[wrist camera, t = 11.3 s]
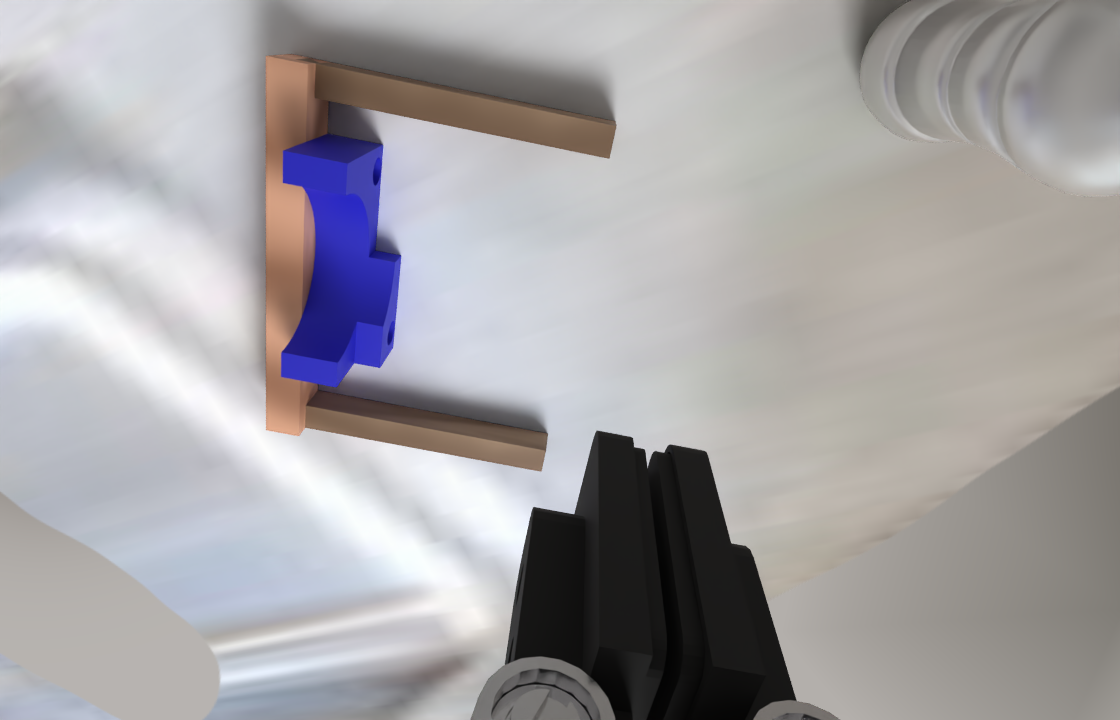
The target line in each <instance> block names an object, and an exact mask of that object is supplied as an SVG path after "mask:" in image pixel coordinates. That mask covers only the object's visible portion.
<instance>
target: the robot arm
mask: <svg viewBox="0 0 1120 720" xmlns="http://www.w3.org/2000/svg"><path fill="white" fill-rule="evenodd" d="M471 720H839V719H838V718H837V717H835V716H834V715H832V714H831V713H829V712H827V711H825V710H823V709H820V708H818V707H816V706H814V705H811V704H808V703H803V702H797V701H796V697H795V694H794V691H793V687H792V685H791V681H790V677H789V674H788V671H787V667H786V664H785V661H784V657H783V654H782V651H781V647H780V644H779V641H778V637H777V634H776V631H775V627H774V624H773V621H772V617H771V614H770V611H769V607H768V604H767V601H766V597H765V594H764V591H763V587H762V584H761V581H760V577H759V574H758V571H757V567H756V564H755V561H754V557H753V555H752V553H751V551H750V549H749V548H747V547H746V546H742V545H737V544H731V541H730V537H729V534H728V530H727V526H726V522H725V519H724V515H723V511H722V507H721V503H720V500H719V496H718V492H717V488H716V484H715V481H714V477H713V473H712V469H711V466H710V462H709V458H708V455H707V453H706V452H705V451H702V450H697V449H691V448H686V447H681V446H676V445H669V446H668V447H667V448H666V450H665V453H662V452H657V451H654V452H653V454H652V456H651V459H650V462H649V465H648V469H647V462H646V453H645V450H644V449H641V448H635V447H634V442H633V438H632V437H628V436H623V435H618V434H612V433H607V432H602V431H596V433H595V436H594V439H593V443H592V446H591V450H590V454H589V458H588V462H587V466H586V470H585V474H584V478H583V482H582V486H581V490H580V494H579V498H578V502H577V506H576V510H575V514H569V513H563V512H558V511H552V510H547V509H541V508H536V507H533V509H532V513H531V517H530V521H529V526H528V530H527V535H526V540H525V544H524V549H523V554H522V559H521V564H520V569H519V575H518V580H517V586H516V592H515V599H514V605H513V612H512V619H511V626H510V633H509V640H508V647H507V654H506V660H505V665H504V666H502V667H501V668H500V669H499V670H498V671H497V672H496V673H494V674H493V675H492V676H491V677H490V678H489V679H488V681H487V682H486V684H485V686H484V688H483V689H482V691H481V693H480V695H479V697H478V700H477V703H476V706H475V709H474V711H473V714H472V717H471Z"/></svg>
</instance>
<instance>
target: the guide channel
mask: <svg viewBox="0 0 1120 720" xmlns="http://www.w3.org/2000/svg"><path fill="white" fill-rule="evenodd" d="M329 101H331V102H336V103H341V104H346V105H351V106H356V107H361V108H365V109H370V110H375V111H380V112H385V113H390V114H395V115H399V116H404V117H409V118H414V119H419V120H424V121H429V122H433V123H438V124H443V125H448V126H453V127H458V128H463V129H468V130H472V131H477V132H482V133H487V134H492V135H497V136H502V137H506V138H511V139H516V140H521V141H526V142H531V143H536V144H540V145H545V146H550V147H555V148H560V149H565V150H570V151H574V152H579V153H584V154H589V155H594V156H599V157H604V158H608V159H609V158H610V153H611V148H612V144H613V139H614V135H615V130H616V122H615V121H611V120H606V119H601V118H597V117H592V116H587V115H582V114H577V113H573V112H568V111H563V110H558V109H553V108H549V107H544V106H539V105H534V104H529V103H525V102H520V101H515V100H510V99H505V98H500V97H496V96H491V95H486V94H481V93H476V92H472V91H467V90H462V89H457V88H452V87H448V86H443V85H438V84H433V83H428V82H424V81H419V80H414V79H409V78H404V77H400V76H395V75H390V74H385V73H380V72H376V71H371V70H366V69H361V68H356V67H352V66H347V65H342V64H337V63H332V62H327V61H323V60H318V59H313V58H308V57H303V56H299V55H294V54H284V55H270V56H266V430H269V431H274V432H279V433H285V434H290V435H296V436H299V435H300V434H301V432H302V431H303V430H304V428H310V429H316V430H321V431H326V432H332V433H337V434H343V435H348V436H353V437H359V438H364V439H369V440H375V441H380V442H385V443H391V444H396V445H402V446H407V447H412V448H418V449H423V450H428V451H434V452H439V453H444V454H450V455H455V456H461V457H466V458H471V459H477V460H482V461H487V462H493V463H498V464H503V465H509V466H514V467H520V468H525V469H530V470H536V471H542V466H543V462H544V457H545V452H546V445H547V437H548V434H547V433H542V432H536V431H531V430H526V429H521V428H515V427H510V426H505V425H499V424H494V423H489V422H483V421H478V420H473V419H468V418H462V417H457V416H452V415H446V414H441V413H436V412H430V411H425V410H420V409H415V408H409V407H404V406H399V405H393V404H388V403H383V402H378V401H372V400H367V399H362V398H356V397H351V396H346V395H340V394H335V393H330V392H325V391H319V390H318V384H316V383H310V382H305V381H300V380H294V379H289V378H284V377H281V352H282V351H283V350H284V349H285V347H286V346H287V345H288V343H289V342H290V340H291V338H292V337H293V335H294V333H295V331H296V329H297V327H298V325H299V323H300V320H301V318H302V315H303V312H304V309H305V306H306V303H307V299H308V295H309V291H310V287H311V282H312V277H313V270H314V261H315V245H316V235H315V222H314V215H313V210H312V206H311V203H310V200H309V197H308V195H307V193H306V192H305V190H304V189H303V187H300V186H295V185H290V184H285V183H283V150H286V149H289V148H291V147H294V146H296V145H299V144H302V143H304V142H307V141H310V140H312V139H315V138H318V137H320V136H323V135H325V134H327V132H328V106H329Z"/></svg>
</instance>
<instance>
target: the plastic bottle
mask: <svg viewBox="0 0 1120 720" xmlns="http://www.w3.org/2000/svg"><path fill="white" fill-rule="evenodd" d="M860 88H861V92H862V95H863V99H864V101H865V103H866V105H867V107H868V109H869V111H870V112H871V113H872V114H873V116H874V117H875V118H876V119H877V120H878V121H879V122H880V123H881V124H882V125H883V126H884V127H885V128H887V129H888V130H889V131H891V132H892V133H893V134H895V135H897V136H899V137H902V138H904V139H907V140H912V141H917V142H929V143H944V142H960V143H967V144H973V145H976V146H978V147H980V148H983V149H985V150H988V151H990V152H992V153H995V154H997V155H998V156H1000V157H1001V158H1003V159H1004V160H1006V161H1007V162H1009V163H1010V164H1012V165H1013V166H1015V167H1016V168H1018V169H1019V170H1021V171H1022V172H1024V173H1026V174H1027V175H1029V176H1030V177H1031V178H1033V179H1035V180H1037V181H1039V182H1041V183H1043V184H1045V185H1047V186H1049V187H1052V188H1054V189H1056V190H1059V191H1061V192H1063V193H1067V194H1072V195H1078V196H1083V197H1093V196H1115V195H1120V0H911V1H909V2H907V3H905V4H903V5H902V6H900V7H899V8H898V9H896V10H895V11H893V12H892V13H891V14H890V15H888V16H887V17H886V18H885V19H884V20H883V21H882V22H881V23H880V25H879V26H878V27H877V29H876V30H875V32H874V33H873V34H872V36H871V38H870V40H869V42H868V44H867V46H866V48H865V51H864V54H863V57H862V61H861V67H860Z"/></svg>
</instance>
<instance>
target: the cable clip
mask: <svg viewBox="0 0 1120 720" xmlns="http://www.w3.org/2000/svg"><path fill="white" fill-rule="evenodd" d="M382 155H383V145H382V144H377V143H372V142H367V141H362V140H357V139H352V138H347V137H342V136H338V135H333V134H325V135H323V136H320V137H318V138H315V139H312V140H310V141H307V142H304V143H302V144H299V145H296V146H294V147H291V148H289V149H286V150H283V183H285V184H290V185H295V186H300V187H303V189H304V190H305V192H306V193H307V195H308V197H309V200H310V203H311V206H312V210H313V215H314V222H315V235H316V245H315V261H314V270H313V277H312V282H311V287H310V291H309V295H308V299H307V303H306V306H305V309H304V312H303V315H302V318H301V320H300V323H299V325H298V327H297V329H296V331H295V333H294V335H293V337H292V338H291V340H290V342H289V343H288V345H287V346H286V347H285V349H284V350H283V351H282V352H281V377H284V378H289V379H294V380H300V381H305V382H310V383H316V384H321V385H326V386H332V387H337V386H338V385H339V383H340V382H341V380H342V379H343V378H344V376H345V375H346V374H347V372H348V371H349V370H350V368H351V367H352V365H353V364H354V363H357V364H362V365H367V366H373V367H378V368H380V367H381V366H382V364H383V362H384V361H385V359H386V358H387V356H388V355H389V353H390V352H391V350H392V348H393V342H394V331H395V320H396V309H397V298H398V287H399V276H400V265H401V255H396V254H391V253H386V252H381V251H376V238H377V224H378V211H379V197H380V183H381V169H382Z"/></svg>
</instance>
